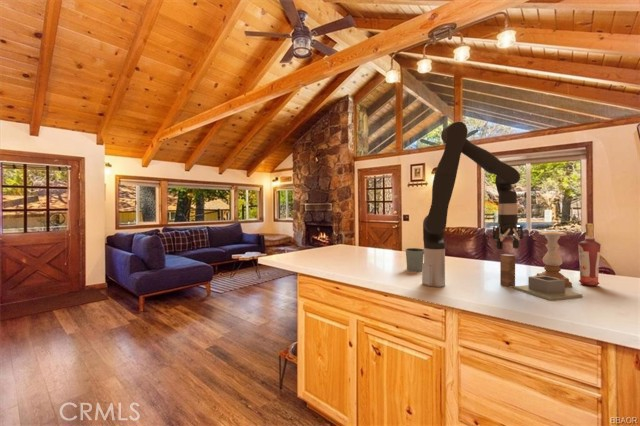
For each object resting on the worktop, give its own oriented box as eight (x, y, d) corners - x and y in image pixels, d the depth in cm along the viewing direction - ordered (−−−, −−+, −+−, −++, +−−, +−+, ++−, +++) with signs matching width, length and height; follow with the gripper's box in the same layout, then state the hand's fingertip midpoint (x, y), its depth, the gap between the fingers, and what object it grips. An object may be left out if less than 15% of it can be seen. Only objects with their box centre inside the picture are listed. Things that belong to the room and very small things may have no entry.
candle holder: (560, 280, 137) (561, 231, 136) (572, 287, 127) (573, 233, 126) (533, 279, 141) (534, 231, 140) (543, 285, 130) (543, 233, 130)
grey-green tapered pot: (416, 267, 170) (416, 247, 170) (428, 271, 161) (427, 250, 160) (402, 269, 167) (401, 248, 167) (412, 272, 157) (412, 251, 157)
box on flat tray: (549, 300, 110) (550, 285, 110) (513, 288, 125) (513, 275, 125) (582, 296, 113) (582, 282, 113) (542, 286, 129) (543, 272, 129)
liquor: (604, 287, 125) (604, 224, 124) (582, 286, 127) (583, 224, 126) (594, 283, 132) (595, 223, 131) (574, 282, 134) (575, 223, 133)
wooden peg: (507, 286, 128) (507, 256, 128) (500, 284, 132) (500, 254, 132) (515, 286, 129) (515, 255, 129) (507, 283, 133) (507, 254, 133)
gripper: (501, 214, 125) (501, 250, 125) (528, 213, 128) (528, 249, 128) (487, 213, 132) (488, 248, 132) (513, 212, 135) (513, 246, 135)
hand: (507, 248), depth 130 cm, fingers open, 8 cm apart
